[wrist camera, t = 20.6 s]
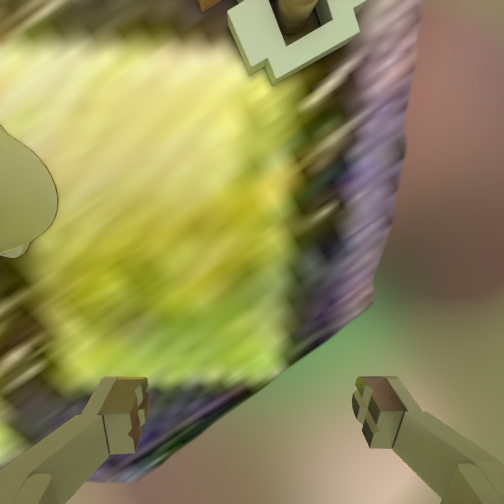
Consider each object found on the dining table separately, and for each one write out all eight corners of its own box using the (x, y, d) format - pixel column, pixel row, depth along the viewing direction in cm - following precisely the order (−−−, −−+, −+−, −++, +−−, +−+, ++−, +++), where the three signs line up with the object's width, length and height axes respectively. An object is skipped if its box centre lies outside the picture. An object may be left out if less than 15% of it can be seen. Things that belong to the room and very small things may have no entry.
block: (363, 34, 33) (377, 21, 30) (258, 93, 34) (260, 87, 31) (333, -68, 30) (345, -95, 26) (218, 3, 31) (216, -14, 28)
